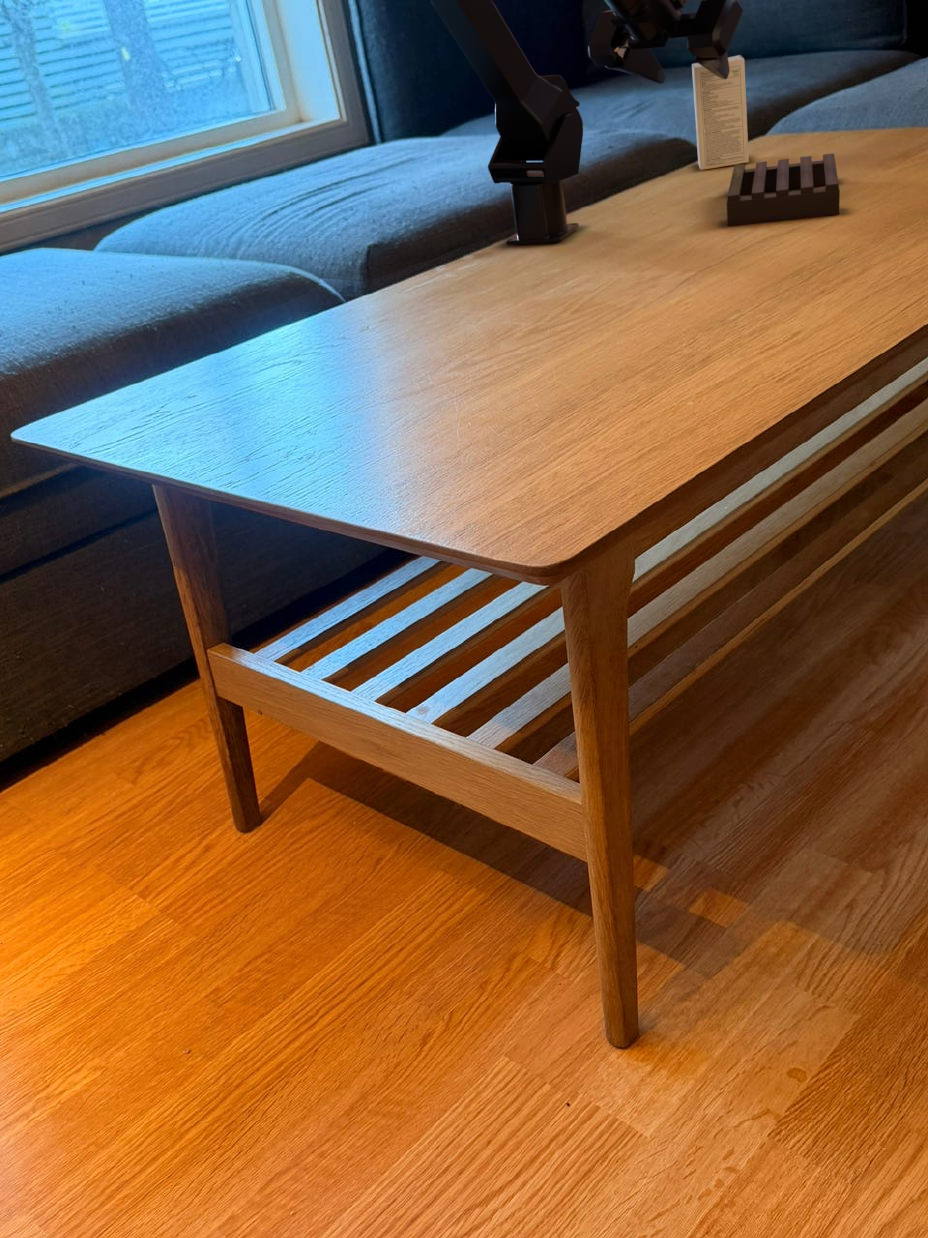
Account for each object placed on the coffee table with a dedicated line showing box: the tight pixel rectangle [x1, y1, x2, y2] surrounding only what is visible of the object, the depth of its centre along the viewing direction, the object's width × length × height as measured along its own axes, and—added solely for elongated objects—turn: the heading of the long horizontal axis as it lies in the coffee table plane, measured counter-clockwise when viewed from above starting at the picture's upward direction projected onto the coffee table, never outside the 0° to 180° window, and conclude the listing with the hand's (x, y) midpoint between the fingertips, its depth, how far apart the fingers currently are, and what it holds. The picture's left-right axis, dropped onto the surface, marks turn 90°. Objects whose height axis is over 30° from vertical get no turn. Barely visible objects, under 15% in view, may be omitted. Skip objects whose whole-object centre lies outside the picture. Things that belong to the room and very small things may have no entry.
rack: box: [726, 152, 841, 227], centre depth 121 cm, size 16×11×3 cm
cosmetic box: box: [691, 54, 750, 171], centre depth 142 cm, size 6×4×12 cm
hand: (694, 77), depth 136 cm, fingers open, 9 cm apart
